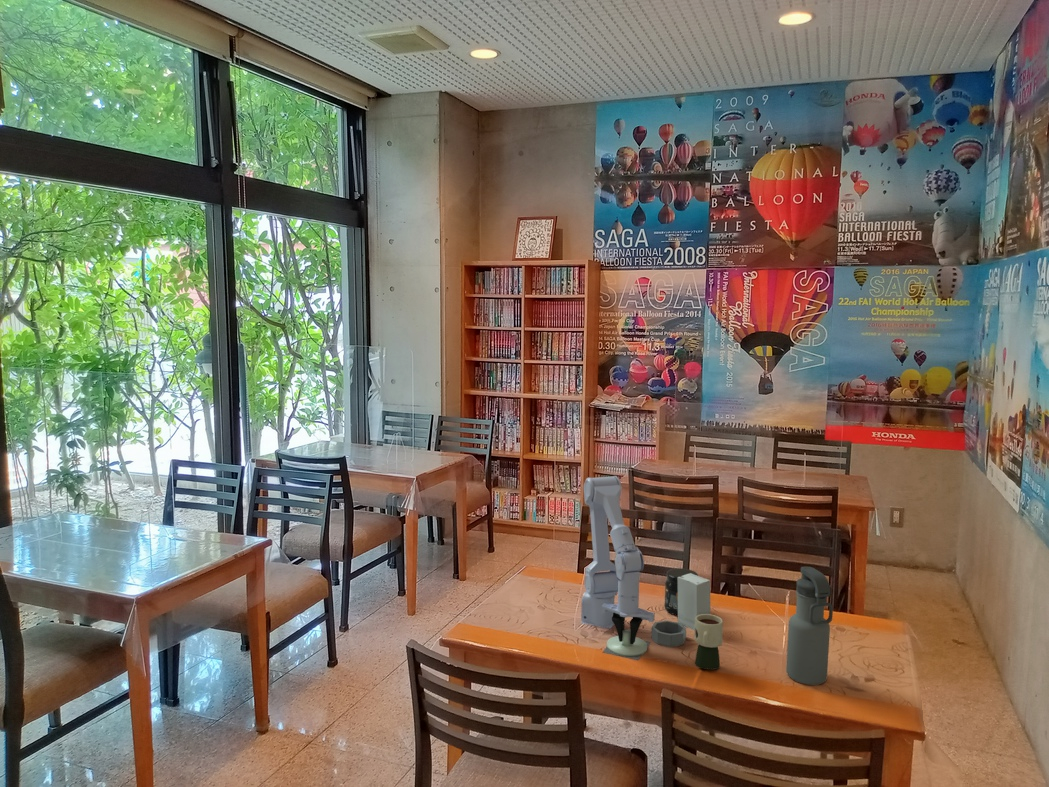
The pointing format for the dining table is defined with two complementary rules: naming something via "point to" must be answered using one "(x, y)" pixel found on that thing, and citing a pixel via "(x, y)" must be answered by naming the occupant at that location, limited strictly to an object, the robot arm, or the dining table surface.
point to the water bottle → (809, 630)
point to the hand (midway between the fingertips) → (627, 641)
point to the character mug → (708, 640)
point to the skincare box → (692, 599)
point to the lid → (626, 645)
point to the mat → (625, 656)
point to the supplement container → (674, 588)
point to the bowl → (668, 633)
